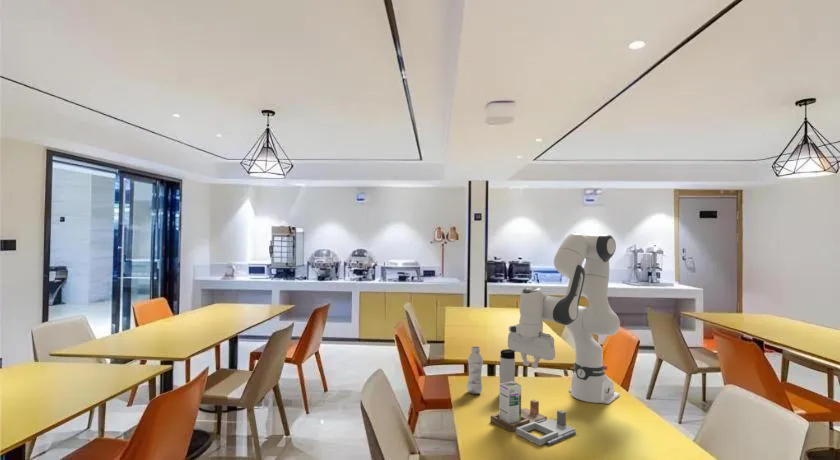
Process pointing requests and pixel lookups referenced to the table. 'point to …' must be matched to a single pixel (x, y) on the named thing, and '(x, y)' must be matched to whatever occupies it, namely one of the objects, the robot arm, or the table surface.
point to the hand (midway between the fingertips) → (530, 366)
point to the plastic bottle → (475, 371)
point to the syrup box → (510, 402)
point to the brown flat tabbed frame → (526, 417)
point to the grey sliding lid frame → (546, 429)
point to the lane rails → (559, 436)
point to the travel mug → (507, 366)
